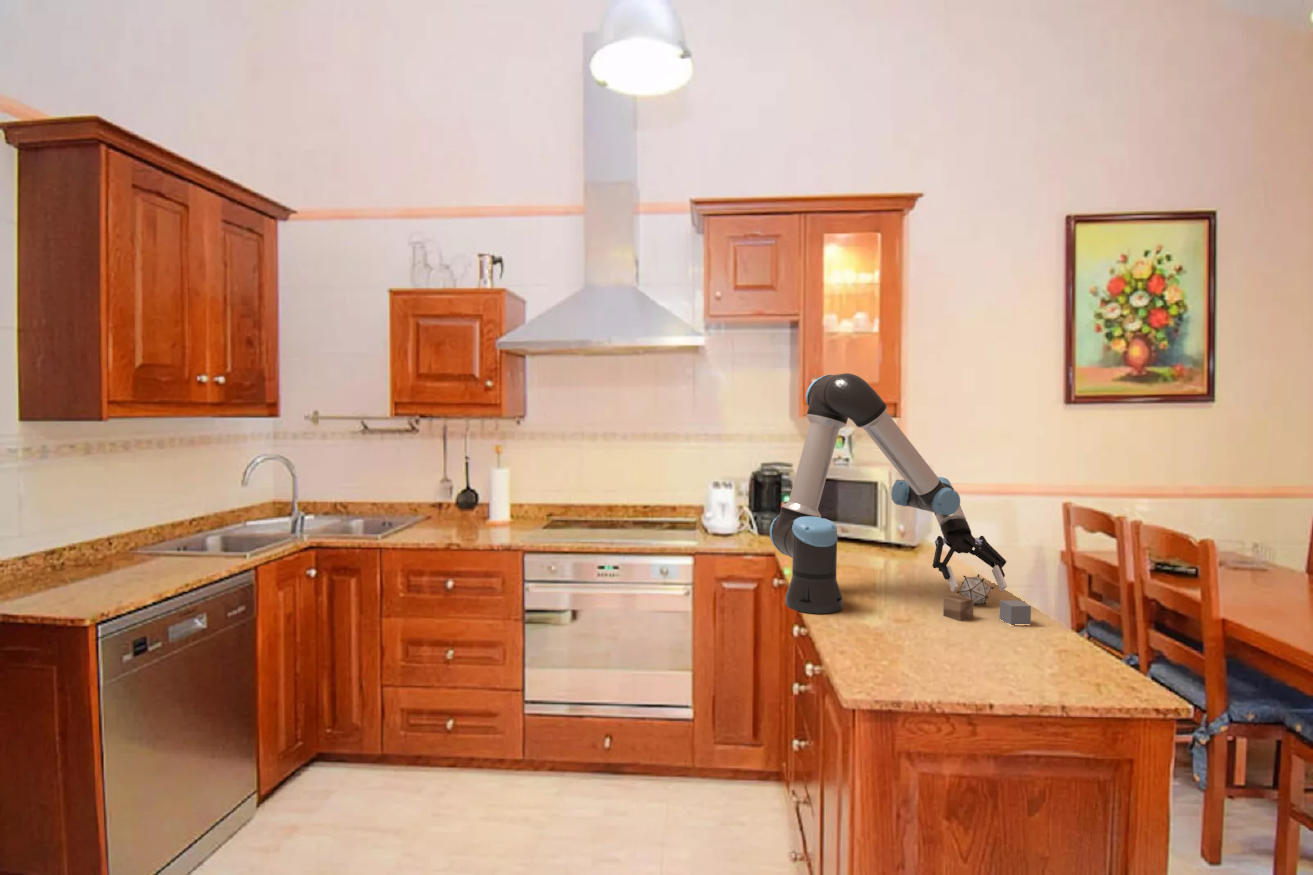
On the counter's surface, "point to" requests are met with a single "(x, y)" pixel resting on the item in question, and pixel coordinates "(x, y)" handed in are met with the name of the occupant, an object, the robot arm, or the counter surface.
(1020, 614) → the gray block
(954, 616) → the walnut block
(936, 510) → the robot arm
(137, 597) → the counter surface
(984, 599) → the game die
